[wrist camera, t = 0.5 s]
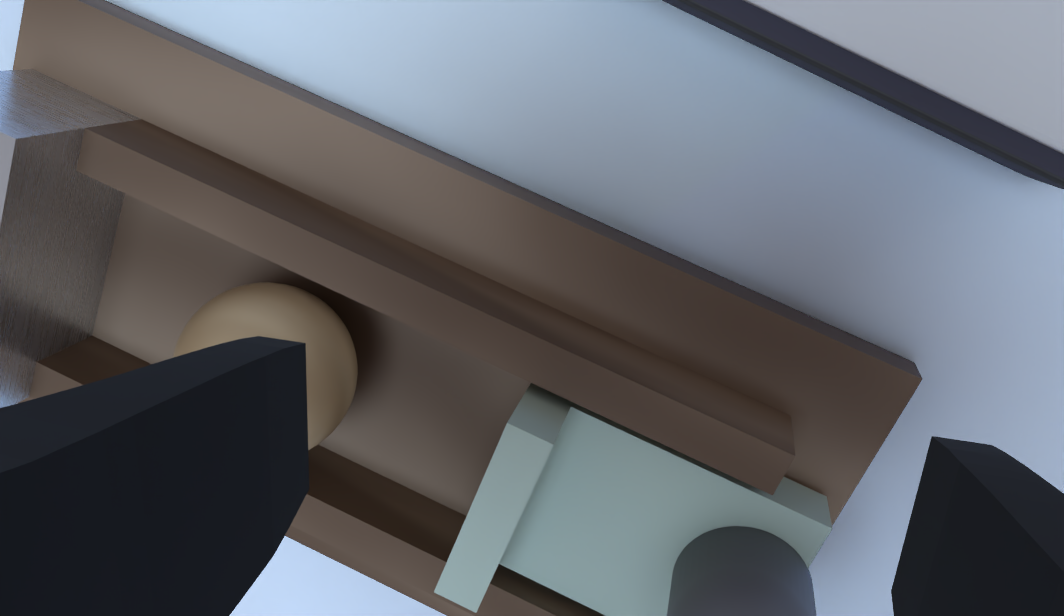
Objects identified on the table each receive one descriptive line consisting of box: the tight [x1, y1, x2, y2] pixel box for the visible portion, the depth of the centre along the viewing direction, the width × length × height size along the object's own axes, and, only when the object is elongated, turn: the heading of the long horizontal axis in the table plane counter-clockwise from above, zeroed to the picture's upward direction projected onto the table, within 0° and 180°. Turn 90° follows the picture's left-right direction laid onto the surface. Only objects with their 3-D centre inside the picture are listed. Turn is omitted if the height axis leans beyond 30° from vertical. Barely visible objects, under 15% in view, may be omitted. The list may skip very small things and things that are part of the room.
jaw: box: [434, 383, 832, 616], centre depth 19 cm, size 4×8×6 cm, turn 69°
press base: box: [13, 0, 922, 616], centre depth 22 cm, size 11×22×3 cm, turn 68°
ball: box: [173, 282, 358, 450], centre depth 21 cm, size 4×4×4 cm
